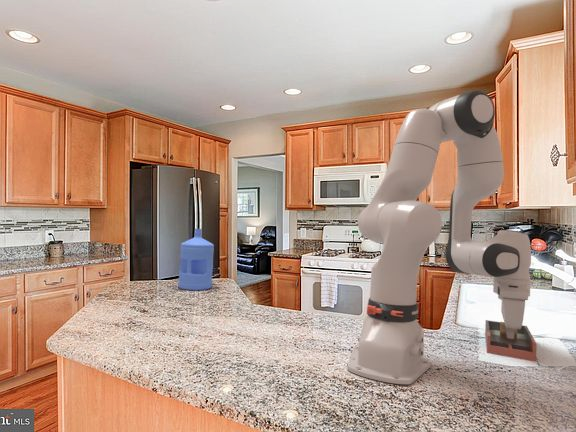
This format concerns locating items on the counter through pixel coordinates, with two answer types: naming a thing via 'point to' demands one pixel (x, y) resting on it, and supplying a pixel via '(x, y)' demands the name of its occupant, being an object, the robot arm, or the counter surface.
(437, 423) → the counter surface
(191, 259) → the water jug
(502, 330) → the maple block
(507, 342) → the box
